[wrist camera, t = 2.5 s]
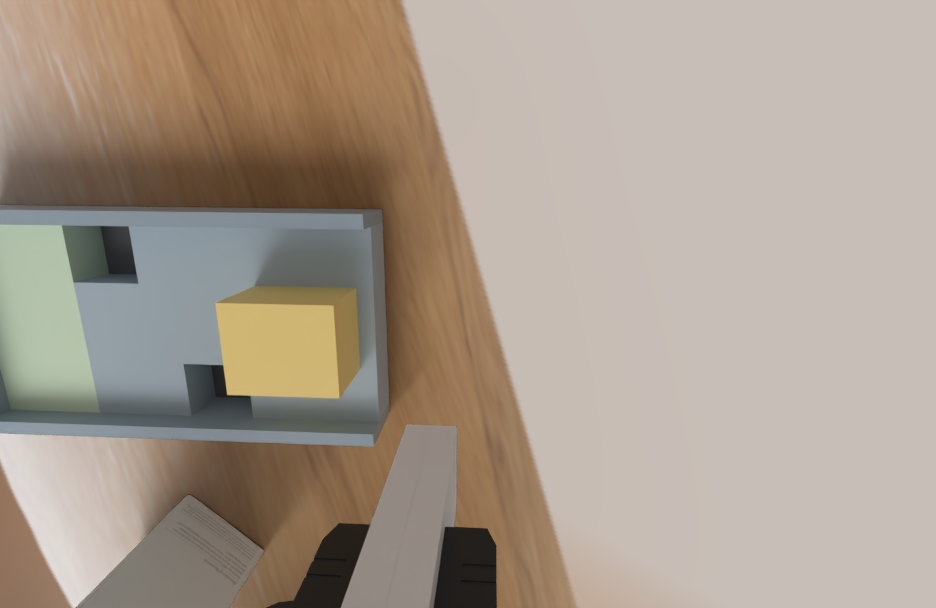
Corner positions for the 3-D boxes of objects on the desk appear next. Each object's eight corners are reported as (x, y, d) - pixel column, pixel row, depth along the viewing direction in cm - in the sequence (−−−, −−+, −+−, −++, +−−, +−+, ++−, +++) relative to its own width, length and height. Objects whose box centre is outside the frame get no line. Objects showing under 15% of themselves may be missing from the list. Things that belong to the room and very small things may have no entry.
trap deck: (389, 411, 32) (369, 456, 27) (44, 399, 33) (-41, 440, 28) (382, 209, 29) (357, 215, 24) (-2, 204, 30) (-109, 209, 25)
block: (360, 368, 28) (339, 398, 24) (263, 366, 29) (227, 394, 25) (356, 288, 27) (333, 305, 23) (254, 285, 27) (215, 303, 24)
